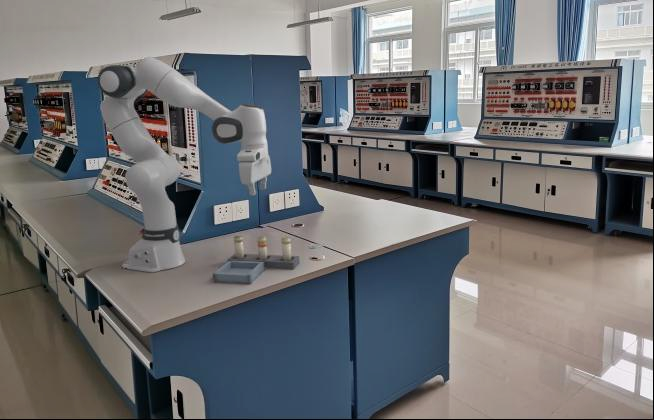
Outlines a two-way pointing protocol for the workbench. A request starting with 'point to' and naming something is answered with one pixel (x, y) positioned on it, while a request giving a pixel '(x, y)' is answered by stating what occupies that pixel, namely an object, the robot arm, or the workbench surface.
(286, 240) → the right fuse
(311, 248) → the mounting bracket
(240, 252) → the left fuse
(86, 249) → the workbench surface
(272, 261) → the fuse holder
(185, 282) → the workbench surface
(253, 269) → the parts tray
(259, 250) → the marked fuse
